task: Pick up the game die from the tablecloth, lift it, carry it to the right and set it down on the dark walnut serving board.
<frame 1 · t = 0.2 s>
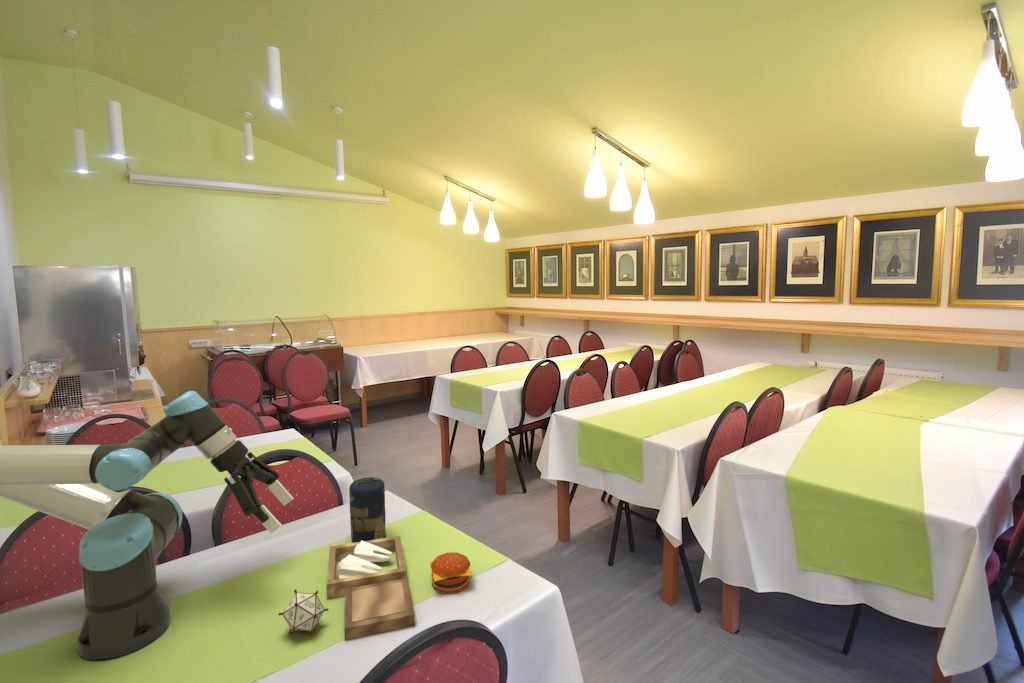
hand: (283, 515, 123), 16 cm above the table, tool tilted 35°, fingers open, 13 cm apart
canister: (369, 541, 141), on the table
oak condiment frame: (367, 571, 126), on the table
game die: (304, 630, 105), on the table
walnut board: (378, 611, 110), on the table
white folded napkins: (367, 571, 126), resting in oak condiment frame
hamburger: (450, 583, 121), on the table
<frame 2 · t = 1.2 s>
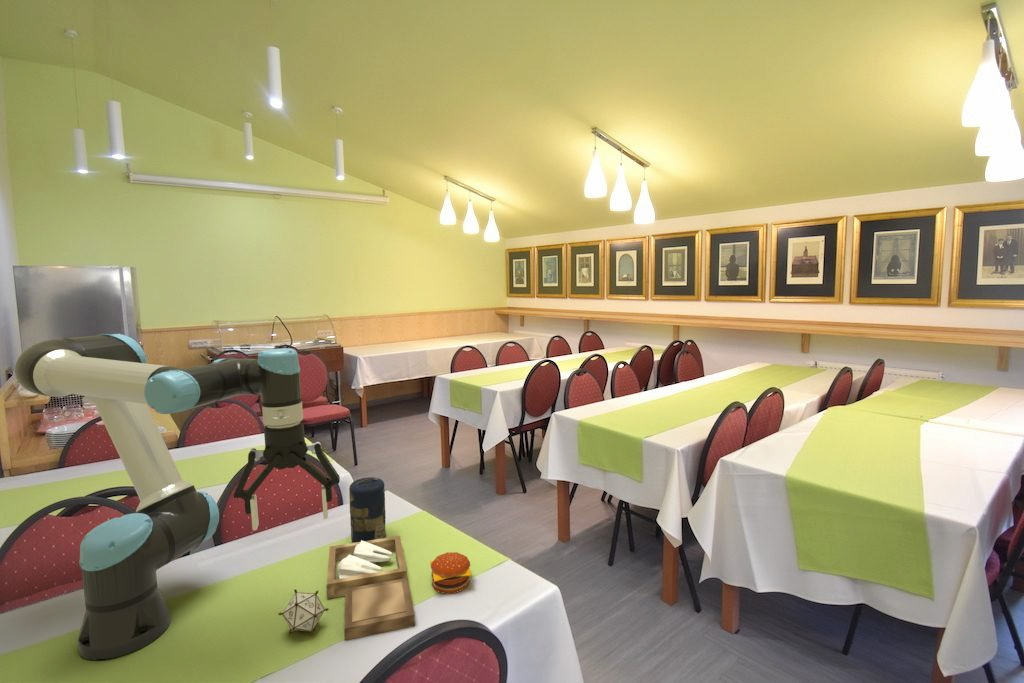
hand: (291, 521, 106), 22 cm above the table, tool pointing down, fingers open, 13 cm apart
nothing on the table moved.
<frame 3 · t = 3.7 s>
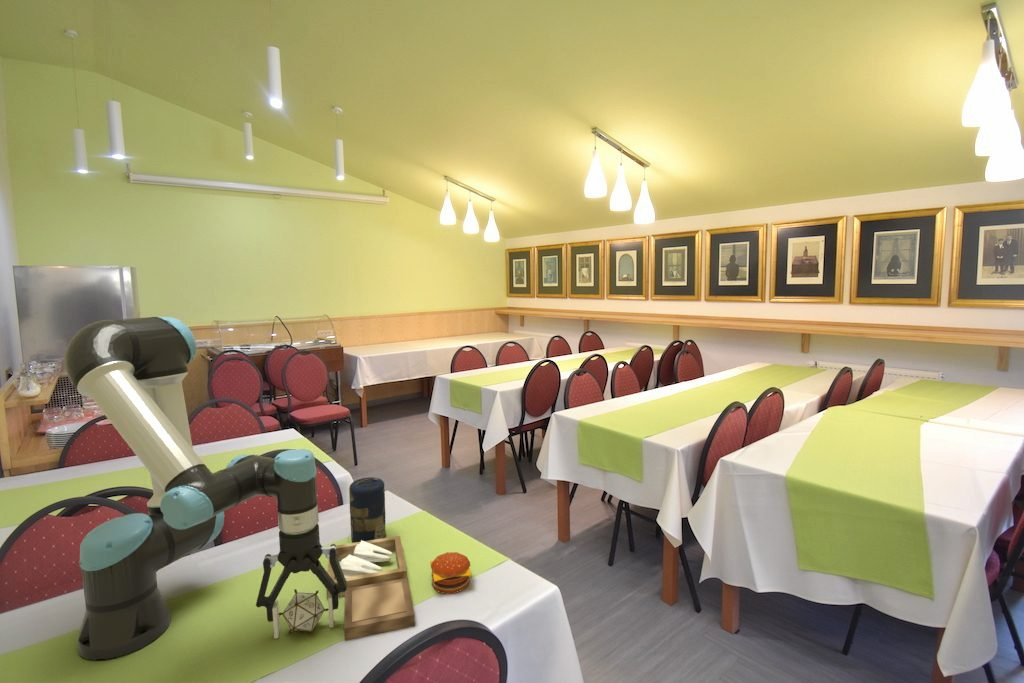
hand: (304, 628, 105), 0 cm above the table, tool pointing down, fingers open, 10 cm apart
game die: (304, 630, 105), on the table, touching gripper
everything else where it was.
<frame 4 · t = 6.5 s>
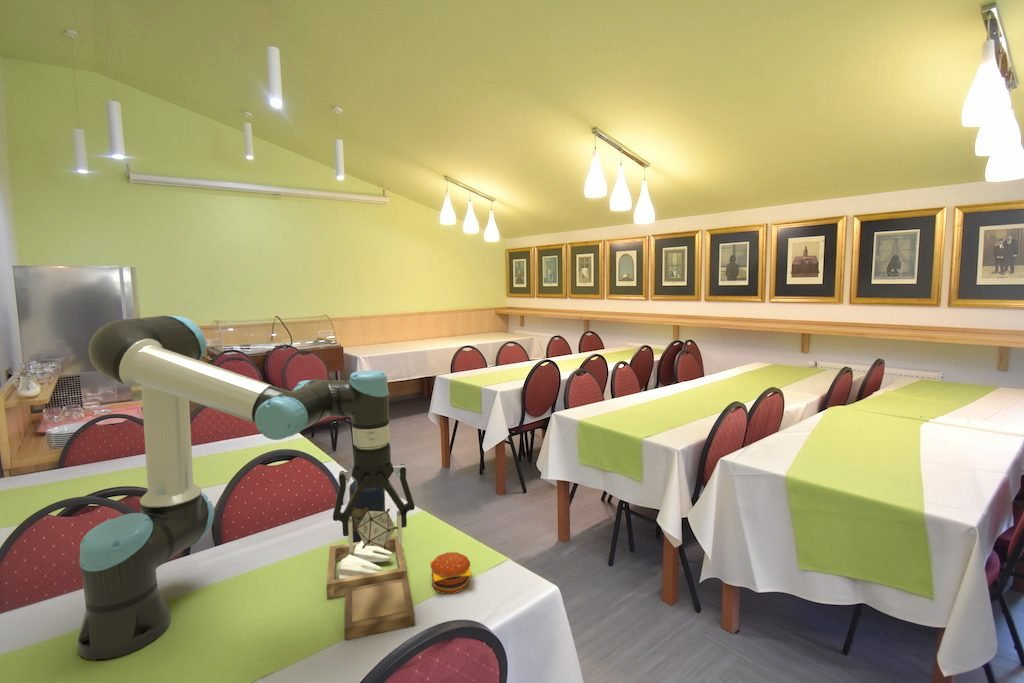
hand: (375, 545, 109), 16 cm above the table, tool pointing down, fingers closed on game die, 9 cm apart
game die: (376, 546, 109), point 15 cm above the table, touching gripper
everything else where it was.
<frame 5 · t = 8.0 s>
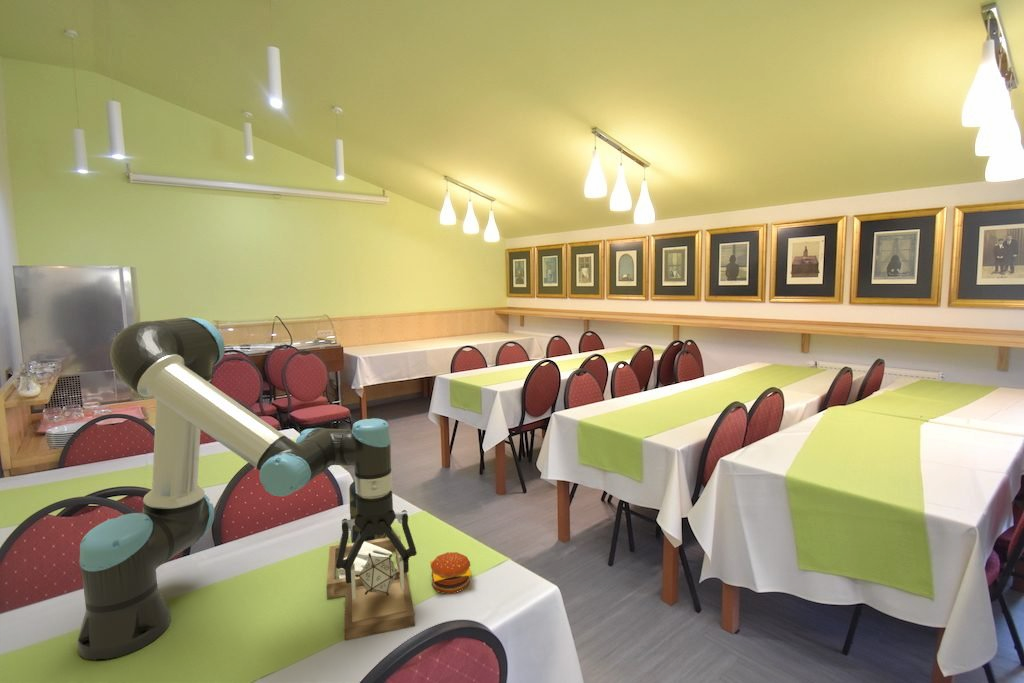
hand: (378, 590, 110), 5 cm above the table, tool pointing down, fingers closed on game die, 9 cm apart
game die: (379, 592, 110), point 5 cm above the table, touching gripper
everything else where it was.
when the fingers open (4 cm above the table, at t = 9.1 s): game die drops 1 cm, resting on walnut board.
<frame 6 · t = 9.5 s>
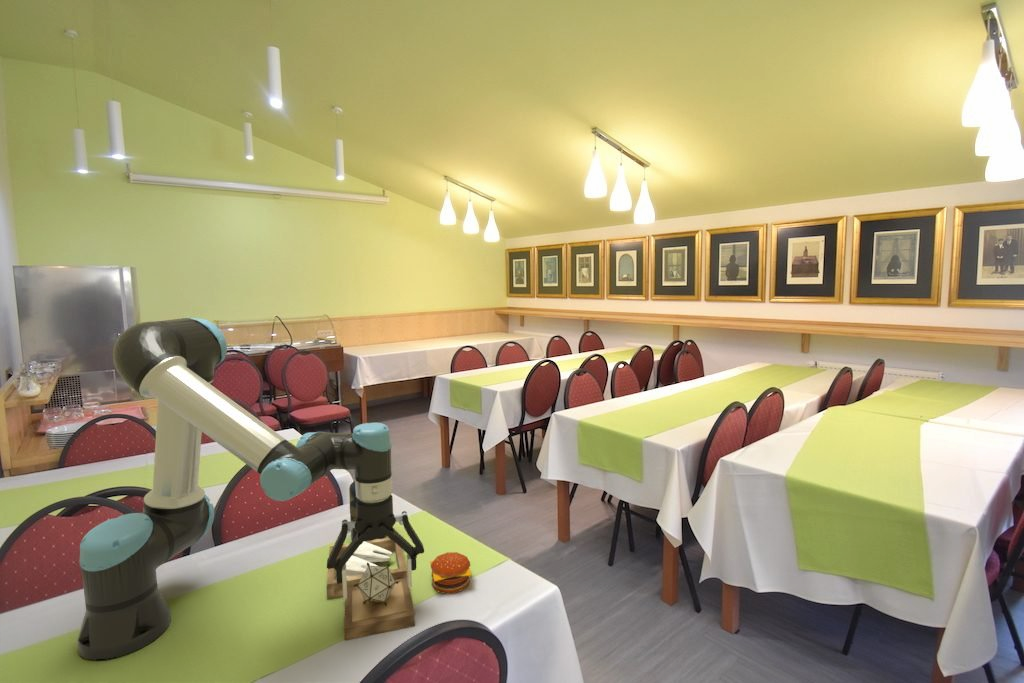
hand: (378, 589, 110), 5 cm above the table, tool pointing down, fingers open, 13 cm apart
game die: (377, 601, 110), point 2 cm above the table, touching walnut board
everything else where it was.
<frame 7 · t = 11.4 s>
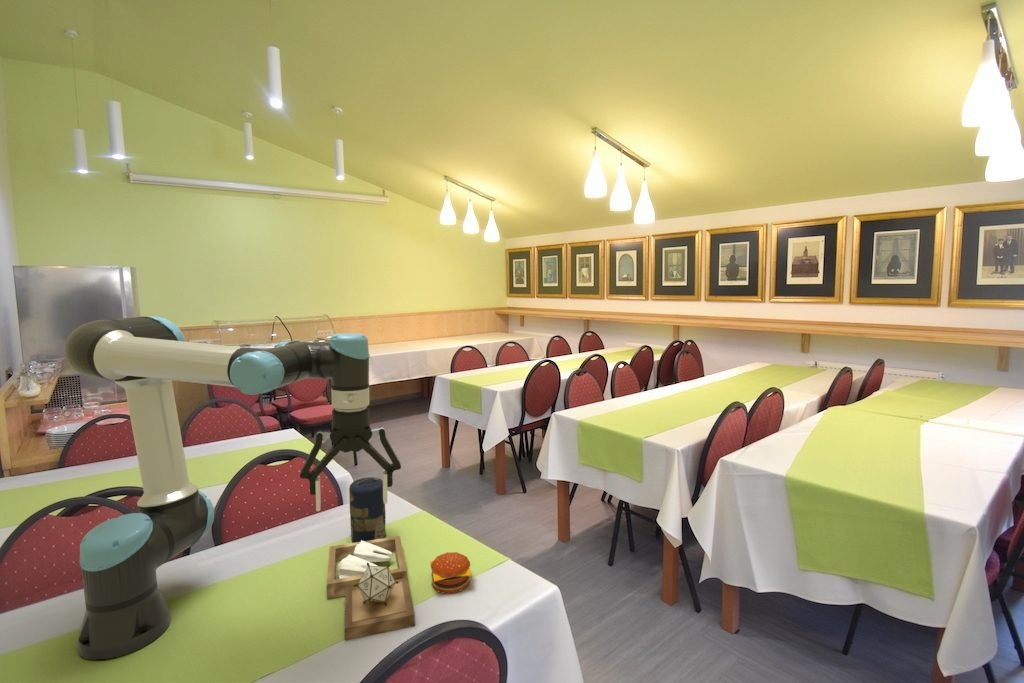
hand: (352, 504, 108), 25 cm above the table, tool pointing down, fingers open, 13 cm apart
nothing on the table moved.
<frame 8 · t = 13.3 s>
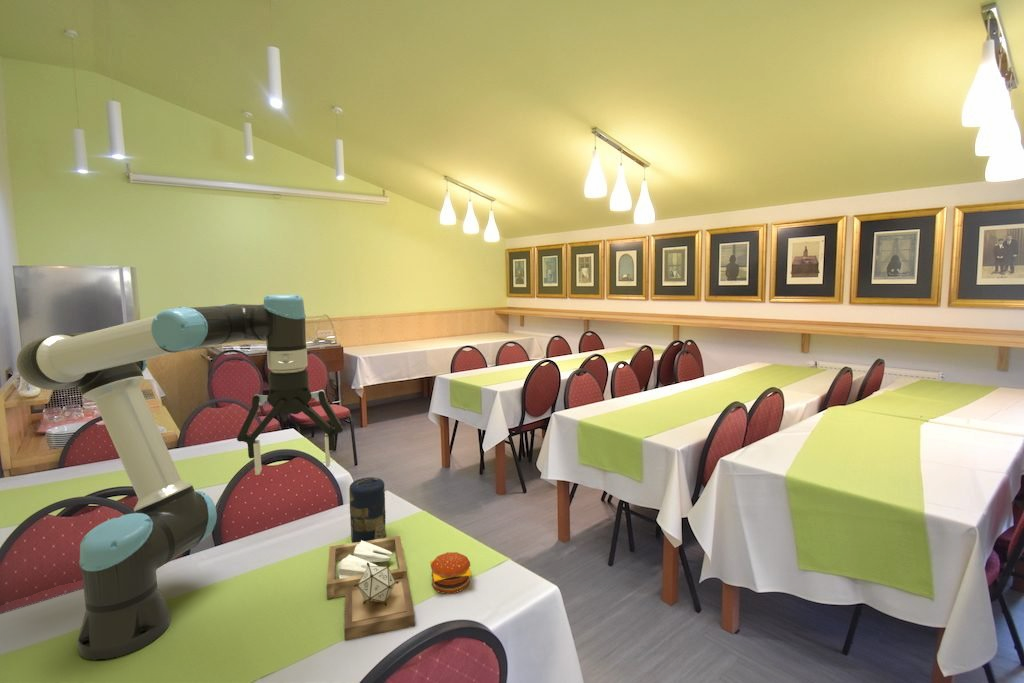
hand: (294, 468, 107), 33 cm above the table, tool pointing down, fingers open, 13 cm apart
nothing on the table moved.
at the end: game die inside the target area on the walnut board (0.2 cm from its centre), point 2.4 cm above the walnut board's base; the gripper is holding nothing; game die moved 15.0 cm from its start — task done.
